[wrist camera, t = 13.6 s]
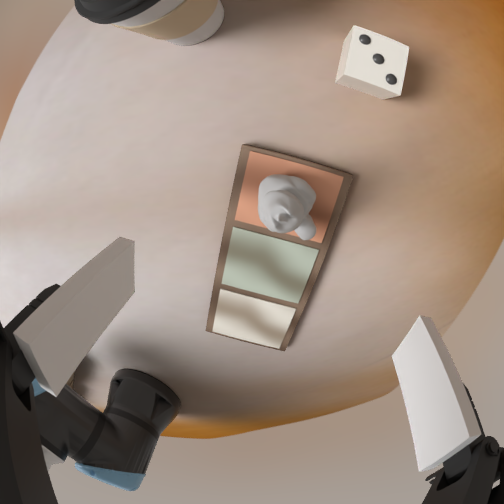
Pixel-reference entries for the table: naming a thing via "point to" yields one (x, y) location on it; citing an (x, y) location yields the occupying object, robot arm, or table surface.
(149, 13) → the coffee cup
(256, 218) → the game board
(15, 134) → the table surface
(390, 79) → the die
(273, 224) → the white lumpy piece
